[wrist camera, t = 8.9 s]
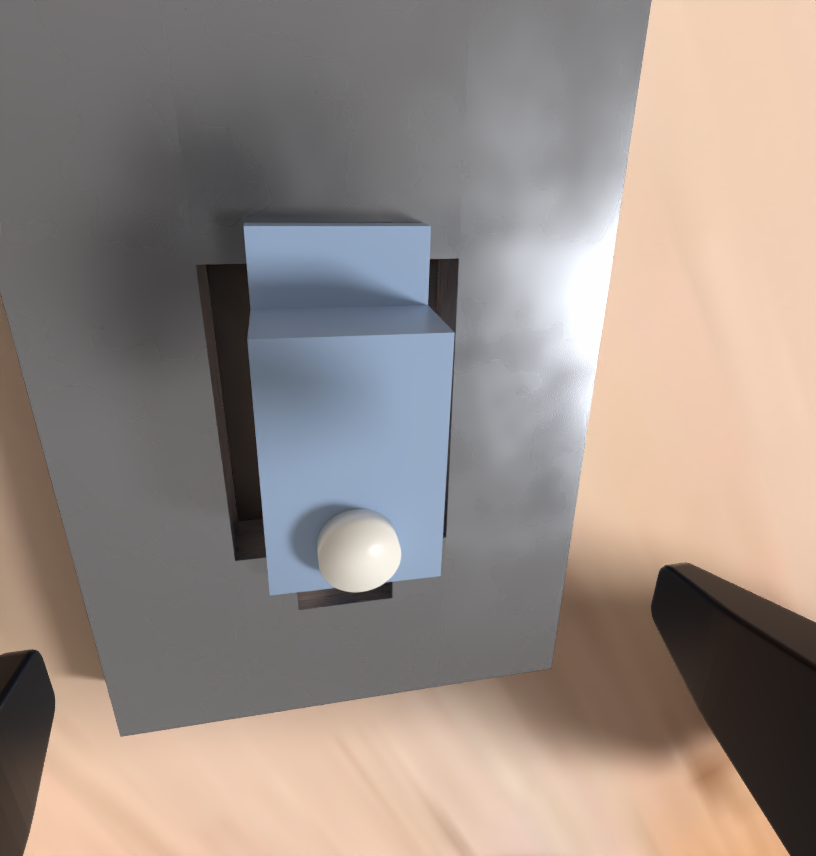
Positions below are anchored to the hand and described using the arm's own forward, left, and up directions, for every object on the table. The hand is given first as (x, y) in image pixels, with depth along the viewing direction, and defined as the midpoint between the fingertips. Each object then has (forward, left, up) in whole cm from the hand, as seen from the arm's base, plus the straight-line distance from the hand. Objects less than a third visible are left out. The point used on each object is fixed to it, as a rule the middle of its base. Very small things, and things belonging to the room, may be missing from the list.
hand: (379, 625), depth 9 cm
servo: (0, 0, -10) cm, 10 cm away
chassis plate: (0, 0, -10) cm, 10 cm away
